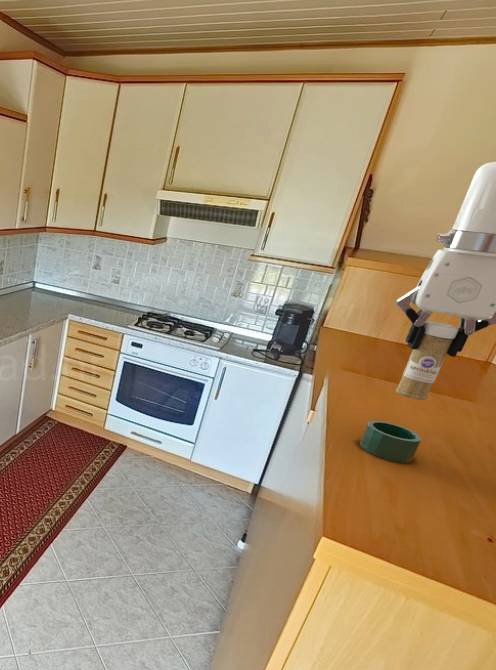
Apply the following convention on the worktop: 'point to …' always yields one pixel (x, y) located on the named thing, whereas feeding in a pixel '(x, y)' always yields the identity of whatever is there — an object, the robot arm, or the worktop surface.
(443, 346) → the sprinkles bottle
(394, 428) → the holder
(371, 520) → the worktop surface
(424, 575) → the worktop surface
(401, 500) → the worktop surface
